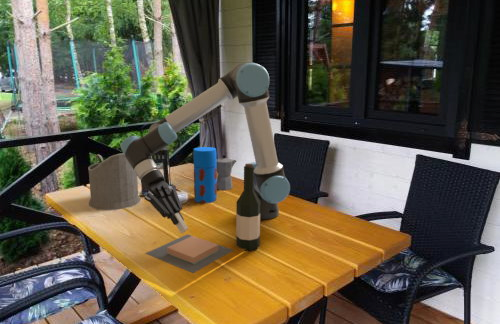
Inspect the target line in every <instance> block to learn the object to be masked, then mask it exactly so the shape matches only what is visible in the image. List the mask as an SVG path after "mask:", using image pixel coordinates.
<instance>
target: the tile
mask: <svg viewBox="0 0 500 324" xmlns="http://www.w3.org/2000/svg"><path fill="white" fill-rule="evenodd" d="M218 245H219V244H218V243H214V242H212V241H209V240H205V239H202V238H200V237H197V236H194V235H191V237H189V238H187V239H185V240H183V241H180V242H178V243H176V244H174V245H172V246H169V247H167V253H168V254H169V255H172V256H174V257H177V258H179V259H182V260H184V261H187V262H189V263H192V264H196V263H197V262H199V261H201V260H203V259H205V258H207V257H209V256H210V255H212V254H214V253H216V252H218Z"/></svg>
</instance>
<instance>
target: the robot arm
mask: <svg viewBox="0 0 500 324" xmlns="http://www.w3.org/2000/svg"><path fill="white" fill-rule="evenodd" d="M269 86H270V76H269V73H268V71H267V69H266V68H265V67H264V66H262V64H261V65H260V64H258V63H255V62H247V63H240V64H237V65H236V66H234V67H233V68H231V69H230V71H228V72H227V73H226V74H224V75H222V77H220V78H219V79H218V81H217V83H216V84H214V85H212V86H211V87H209V88H208V89H206V90H205V91H203V92H201V93H199V94H198V95H197V96H195V97H194V98H192V99H191V100H189V101H188V102H186V103H185V104H183V105H181V106H180V107H178V108H177V109H175V110H174V111H172V112H171V113H170V114H168V115H166V116H165V117H164V118H161V119H160V120H158V121H156V122H153V123H152V124H151V125H150V127H149V128H148V133H146V134H145V135H143V136H141V137H139V136H137V135H131V136H129V137H126V138H125V139H123V140H122V142H121V144H120V149H121V151H122V153H124V155H125V157H126V158H127V160H128V162H129V163H130V165H131V166H132V168H133V169H134V171H135V173H136V174H137V179H139V180H140V182H141V184H142V186H143V187H144V189H145V190H146V192H147V193H146V194H145V196H144V200H146V201H147V202H149V203H150V204H151V205H152V207H153V208H154V209H155V210H156V211H157V212H158V214H160V215H161V216H162V217H163V218H164V219H168V220H171V222H172V224H173V225H174V226H176V227H177V229H178V231H179V232H180V234H184V233H185V232H186V231H188V229H189V227H188V226H187V224H186V223H185V219H184V217H183V215H182V214H181V211H182V210H183V206H182V203H181V199H180V198H179V196H178V195H179V194H178V192H177V187H176V185H172V186H171V185H169V184H168V183H167V181H165V177H164V174H162V172H161V170H160V169H159V167H158V165H157V163H156V162H155V161H154V159H153V158H152V156H154V155H155V154H157V153H158V152H160V151H161V150H163V149H164V148H166V147H168V146H169V145H171V144H173V142H175V141H177V139H178V134H177V133H178V132H180V131H181V130H183V129H184V128H186V127H188V126H189V125H191V124H192V123H194V122H195V121H197V120H198V119H200V118H202V117H203V116H205V115H206V114H208V113H210V112H211V111H212V110H214V109H215V108H217V107H219V106H221V105H222V104H223V103H225V102H226V101H228V100H231V101H232V100H234V99H236V98H237V99H238V104H239V105H240V106H242V107H243V108H244V113H245V117H246V118H245V119H246V123H247V128H248V132H249V136H250V141H251V146H252V150H253V156H254V159H255V161H254V162H251V163H250V164H253V166H254V192H255V193H256V195H257V197H258V198H259V200H260V220H270V219H274V218H275V219H276V217H278V216H279V213H280V210H279V209H280V208H279V205H278V204H279V203H281V202H283V201H284V200H286V198H287V197H288V195H289V194H290V191H291V184H290V182H289V180H288V178H287V177H286V176H285V171H284V170H285V169H284V165H283V164H282V163H280V162H279V160H278V156H277V154H278V153H277V150H276V145H275V139H274V135H273V134H274V133H273V130H272V124H271V118H270V113H269V109H268V105H267V104H268V103H267V101H268V100H269V98H270V92H269Z"/></svg>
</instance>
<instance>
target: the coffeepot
mask: <svg viewBox="0 0 500 324" xmlns="http://www.w3.org/2000/svg"><path fill="white" fill-rule="evenodd" d="M222 157H223V158H217V165H216V166H217V190H219V191H228V190H232V188H233V187H234V186H233V179H232V175H231V174H232V169H233V166H235V164H236V163H237V160H236V159H231V158H227V157H226V154H223V155H222Z"/></svg>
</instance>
